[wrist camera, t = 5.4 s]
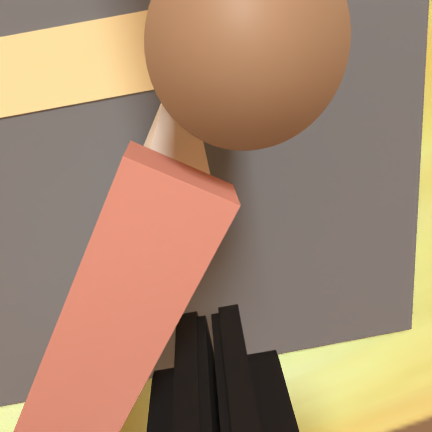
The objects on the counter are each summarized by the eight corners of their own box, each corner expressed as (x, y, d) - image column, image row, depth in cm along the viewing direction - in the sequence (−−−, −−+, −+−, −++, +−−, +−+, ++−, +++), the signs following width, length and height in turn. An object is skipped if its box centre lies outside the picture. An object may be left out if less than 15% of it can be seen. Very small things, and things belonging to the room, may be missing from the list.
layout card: (462, -824, 7) (477, -868, 7) (408, 324, 18) (412, 330, 18) (-666, -631, 7) (-710, -666, 7) (-31, 407, 18) (-35, 414, 17)
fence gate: (157, 84, 12) (122, 156, 5) (205, 107, 12) (240, 205, 5) (57, 332, 15) (-51, 593, 8) (97, 343, 16) (27, 603, 9)
